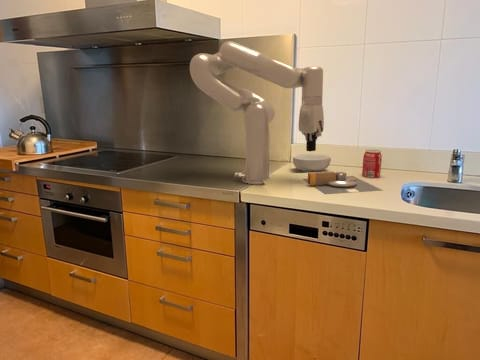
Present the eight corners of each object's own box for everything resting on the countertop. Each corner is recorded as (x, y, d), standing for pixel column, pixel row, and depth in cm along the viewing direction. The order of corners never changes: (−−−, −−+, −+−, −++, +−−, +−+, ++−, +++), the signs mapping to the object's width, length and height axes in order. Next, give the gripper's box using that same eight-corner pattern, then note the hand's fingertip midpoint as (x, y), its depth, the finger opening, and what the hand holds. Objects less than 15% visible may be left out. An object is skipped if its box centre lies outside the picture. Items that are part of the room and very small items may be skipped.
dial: (347, 178, 141) (348, 167, 140) (363, 185, 130) (363, 174, 129) (303, 180, 138) (303, 170, 137) (315, 188, 127) (315, 177, 126)
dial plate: (324, 198, 123) (324, 193, 122) (302, 182, 144) (302, 178, 143) (382, 194, 127) (383, 189, 126) (352, 179, 148) (352, 175, 147)
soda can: (375, 177, 151) (378, 149, 148) (382, 181, 144) (385, 152, 141) (359, 177, 150) (361, 149, 147) (365, 182, 143) (367, 152, 140)
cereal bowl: (316, 166, 173) (317, 151, 171) (337, 173, 158) (338, 157, 156) (285, 169, 167) (286, 154, 166) (304, 177, 152) (305, 160, 151)
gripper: (292, 101, 137) (291, 149, 141) (316, 102, 124) (315, 154, 128) (308, 101, 140) (307, 147, 145) (333, 101, 127) (331, 152, 131)
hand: (311, 150), depth 136 cm, fingers closed
